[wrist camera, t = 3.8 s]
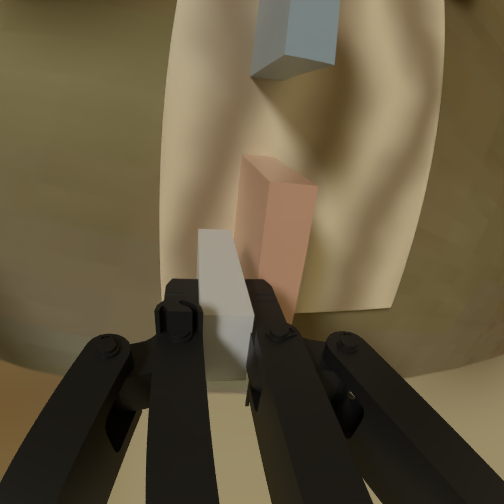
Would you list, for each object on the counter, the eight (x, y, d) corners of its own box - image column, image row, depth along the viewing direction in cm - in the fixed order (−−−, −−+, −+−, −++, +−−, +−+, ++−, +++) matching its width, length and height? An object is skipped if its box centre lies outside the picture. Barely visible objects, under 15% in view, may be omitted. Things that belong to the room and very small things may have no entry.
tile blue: (250, 76, 17) (284, 54, 10) (263, -30, 14) (299, -91, 6) (285, 81, 17) (340, 66, 10) (296, -23, 14) (348, -76, 7)
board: (163, 304, 24) (162, 313, 23) (196, -77, 12) (196, -85, 11) (384, 300, 28) (390, 307, 27) (434, -10, 15) (443, -13, 14)
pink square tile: (231, 268, 22) (248, 344, 15) (241, 154, 19) (269, 181, 12) (262, 269, 23) (292, 342, 16) (276, 157, 19) (324, 186, 12)
